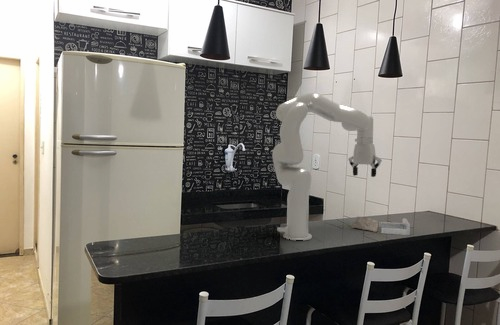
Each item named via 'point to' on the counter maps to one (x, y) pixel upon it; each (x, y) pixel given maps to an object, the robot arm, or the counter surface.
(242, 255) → the counter surface
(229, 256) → the counter surface
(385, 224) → the dock
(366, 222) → the concrete fragment
